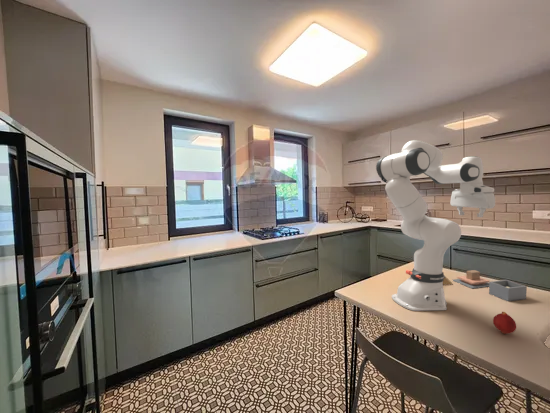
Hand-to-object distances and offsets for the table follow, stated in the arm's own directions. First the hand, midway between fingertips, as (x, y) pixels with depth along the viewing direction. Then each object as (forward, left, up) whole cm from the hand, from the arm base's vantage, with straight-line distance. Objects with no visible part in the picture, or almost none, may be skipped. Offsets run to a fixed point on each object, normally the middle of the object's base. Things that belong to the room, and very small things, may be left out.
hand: (470, 216), depth 118 cm
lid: (+6, +3, -36) cm, 37 cm away
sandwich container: (-10, +11, -37) cm, 40 cm away
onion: (-26, -35, -37) cm, 57 cm away
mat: (+6, +3, -37) cm, 38 cm away
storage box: (+6, -13, -37) cm, 40 cm away
